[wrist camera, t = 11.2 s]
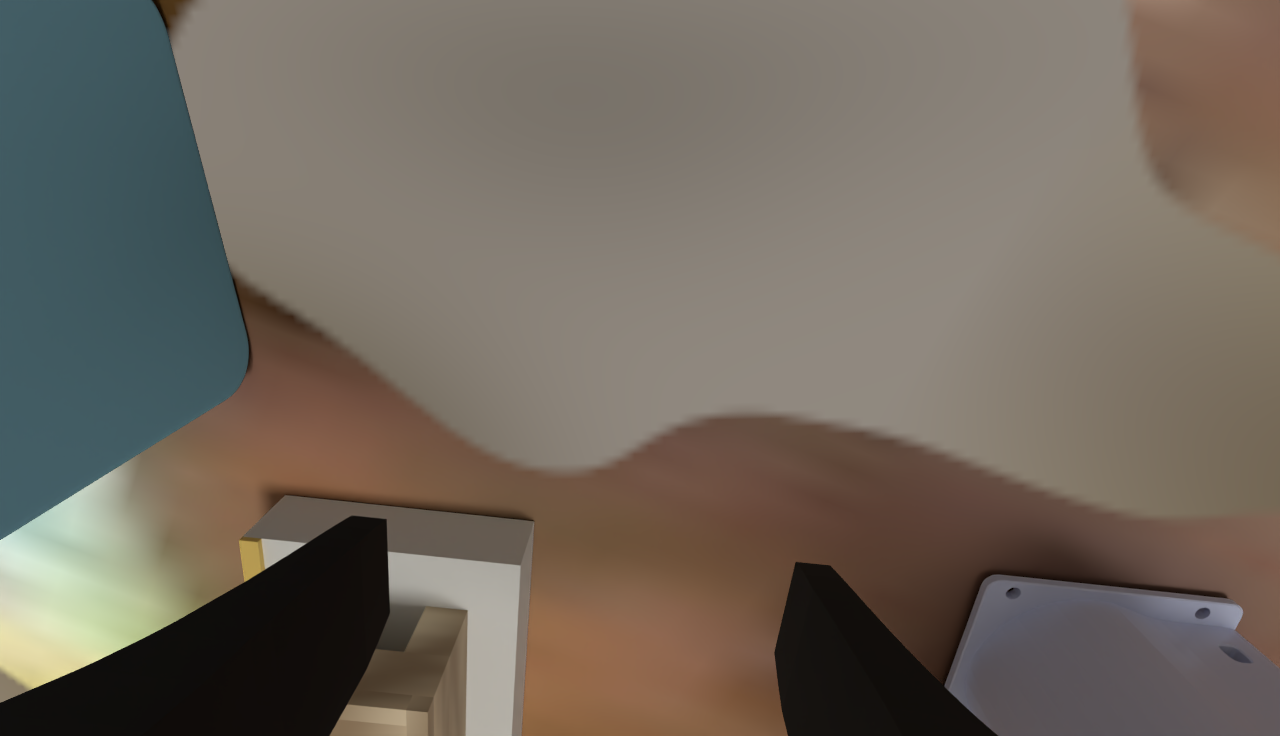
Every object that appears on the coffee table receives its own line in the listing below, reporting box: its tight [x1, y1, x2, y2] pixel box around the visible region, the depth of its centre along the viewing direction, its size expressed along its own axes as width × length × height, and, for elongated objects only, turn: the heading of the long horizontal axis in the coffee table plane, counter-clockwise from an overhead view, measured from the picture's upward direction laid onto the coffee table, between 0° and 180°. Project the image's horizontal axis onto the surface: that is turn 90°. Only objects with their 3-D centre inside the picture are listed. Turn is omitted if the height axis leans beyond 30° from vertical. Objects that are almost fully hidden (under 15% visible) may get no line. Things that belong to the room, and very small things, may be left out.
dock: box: [239, 495, 534, 736], centre depth 24 cm, size 9×14×3 cm, turn 174°
